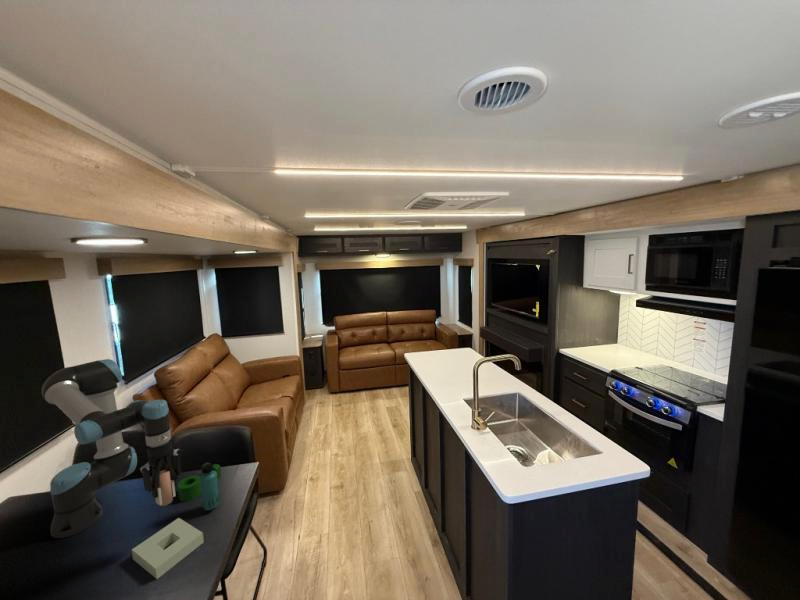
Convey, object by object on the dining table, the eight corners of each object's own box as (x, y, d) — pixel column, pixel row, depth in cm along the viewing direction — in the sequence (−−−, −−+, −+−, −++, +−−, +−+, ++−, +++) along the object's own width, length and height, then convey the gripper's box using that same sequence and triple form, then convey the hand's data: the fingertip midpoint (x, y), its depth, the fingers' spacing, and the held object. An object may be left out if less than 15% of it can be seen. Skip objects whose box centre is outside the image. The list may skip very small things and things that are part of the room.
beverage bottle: (207, 516, 135) (203, 472, 133) (199, 509, 139) (195, 467, 136) (223, 506, 141) (219, 464, 138) (214, 500, 144) (211, 459, 142)
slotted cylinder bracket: (190, 503, 143) (189, 490, 142) (174, 499, 145) (172, 486, 144) (221, 476, 160) (220, 464, 159) (206, 473, 162) (205, 462, 161)
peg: (157, 504, 121) (154, 474, 119) (168, 496, 124) (165, 468, 123) (163, 507, 119) (160, 477, 118) (175, 500, 123) (171, 471, 121)
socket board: (133, 559, 116) (131, 549, 115) (179, 526, 130) (178, 517, 129) (157, 579, 109) (155, 568, 108) (203, 542, 123) (202, 532, 122)
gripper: (137, 457, 109) (145, 519, 112) (188, 433, 125) (194, 488, 127) (126, 452, 113) (134, 512, 116) (177, 429, 128) (183, 482, 131)
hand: (166, 499), depth 122 cm, fingers closed on peg, 4 cm apart
